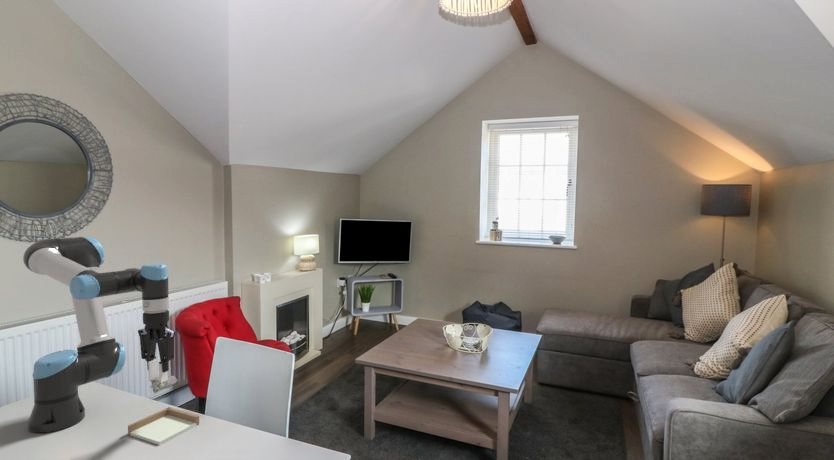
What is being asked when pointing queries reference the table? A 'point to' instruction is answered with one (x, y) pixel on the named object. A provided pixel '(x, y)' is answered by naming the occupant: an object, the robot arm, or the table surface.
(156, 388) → the stone
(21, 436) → the table surface
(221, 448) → the table surface
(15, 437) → the table surface
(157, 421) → the corner
